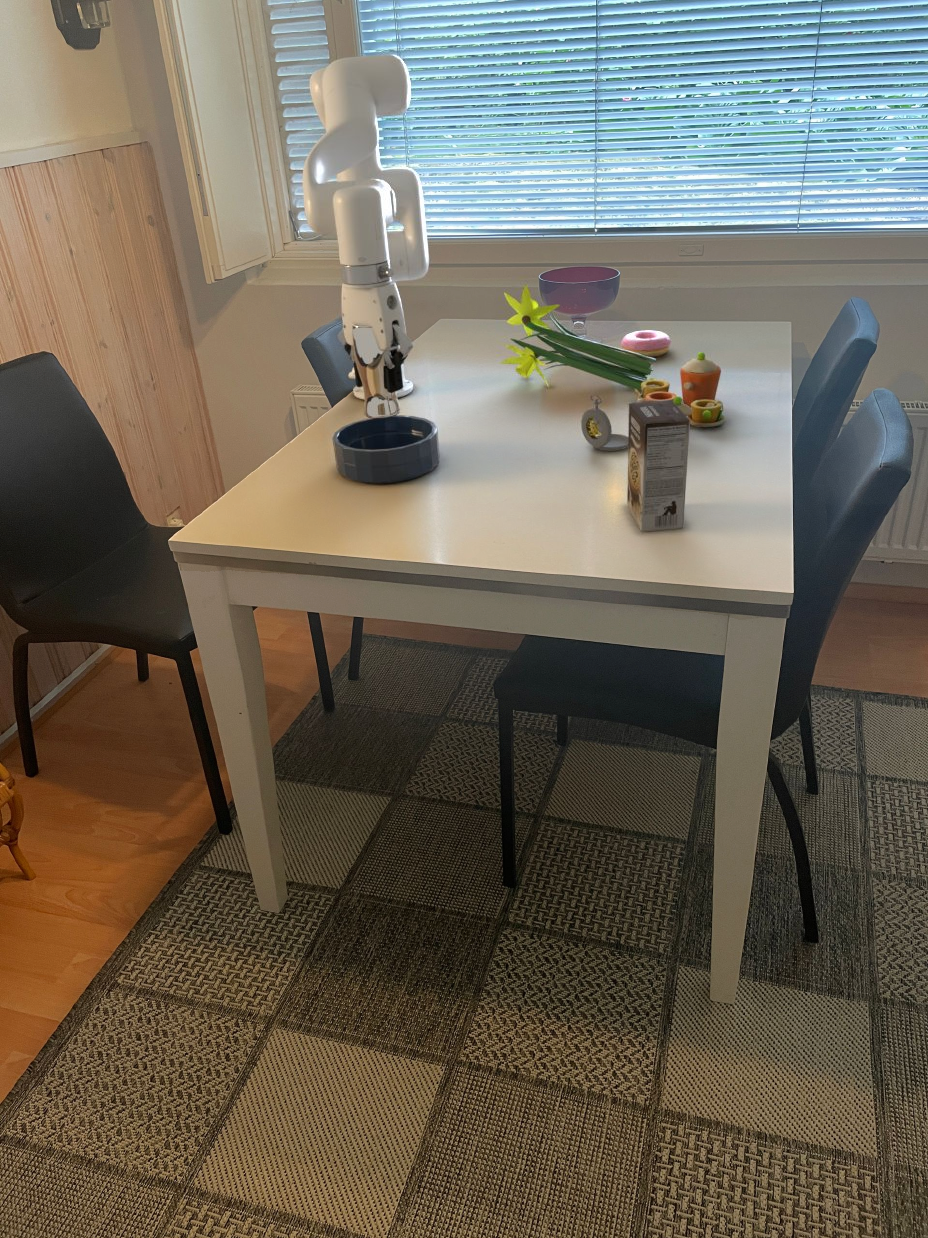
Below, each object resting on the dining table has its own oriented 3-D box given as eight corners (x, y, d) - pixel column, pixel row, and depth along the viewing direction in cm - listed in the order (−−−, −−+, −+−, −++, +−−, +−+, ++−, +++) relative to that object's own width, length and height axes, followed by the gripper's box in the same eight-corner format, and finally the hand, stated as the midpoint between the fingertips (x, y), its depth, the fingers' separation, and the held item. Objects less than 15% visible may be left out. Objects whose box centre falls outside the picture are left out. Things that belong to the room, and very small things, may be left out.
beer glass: (397, 419, 154) (386, 326, 146) (356, 419, 155) (344, 327, 147) (407, 406, 159) (398, 315, 152) (368, 406, 161) (357, 316, 153)
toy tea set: (633, 396, 185) (634, 347, 180) (713, 392, 184) (717, 343, 179) (645, 443, 163) (647, 388, 158) (737, 439, 161) (742, 384, 156)
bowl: (316, 473, 161) (311, 439, 158) (385, 441, 173) (382, 409, 170) (392, 493, 151) (387, 458, 148) (460, 458, 163) (457, 424, 160)
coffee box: (625, 507, 141) (627, 401, 132) (667, 502, 141) (672, 397, 133) (640, 533, 133) (643, 422, 125) (685, 528, 133) (691, 418, 125)
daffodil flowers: (631, 408, 182) (469, 351, 190) (636, 424, 196) (485, 370, 204) (665, 325, 180) (500, 271, 188) (668, 346, 194) (514, 296, 202)
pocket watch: (633, 440, 164) (634, 383, 159) (624, 457, 158) (625, 399, 153) (587, 437, 167) (587, 382, 162) (576, 454, 160) (576, 397, 155)
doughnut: (615, 358, 209) (615, 339, 207) (627, 345, 217) (628, 326, 215) (664, 360, 205) (665, 341, 203) (675, 346, 213) (675, 328, 211)
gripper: (424, 272, 143) (434, 388, 153) (344, 265, 153) (358, 375, 162) (391, 282, 139) (403, 401, 148) (310, 274, 148) (326, 386, 157)
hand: (379, 386), depth 155 cm, fingers closed on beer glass, 6 cm apart
